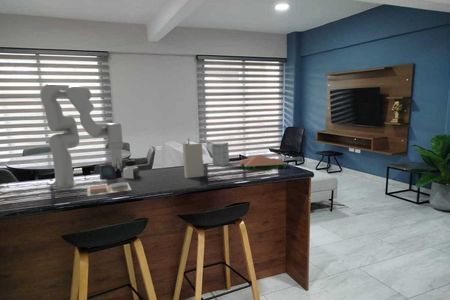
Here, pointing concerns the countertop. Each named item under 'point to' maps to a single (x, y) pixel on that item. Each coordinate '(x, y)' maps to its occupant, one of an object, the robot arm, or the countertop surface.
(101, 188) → the teal square slab
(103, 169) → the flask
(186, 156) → the beige box with antenna
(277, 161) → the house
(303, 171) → the countertop surface
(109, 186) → the board
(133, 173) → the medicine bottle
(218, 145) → the supplement box
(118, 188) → the beige square tile
